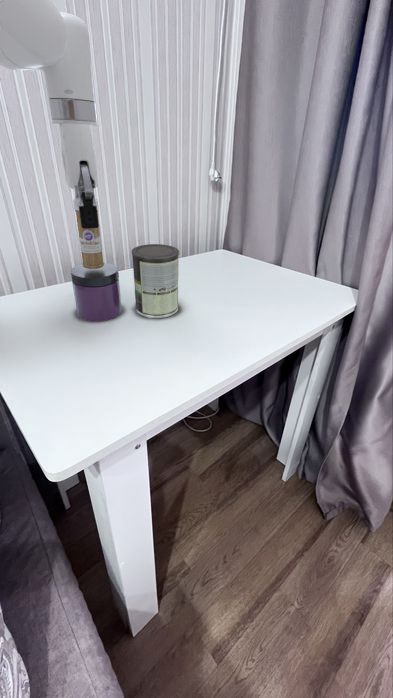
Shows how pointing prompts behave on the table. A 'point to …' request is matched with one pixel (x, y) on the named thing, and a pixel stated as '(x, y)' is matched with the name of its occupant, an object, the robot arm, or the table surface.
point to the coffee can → (156, 280)
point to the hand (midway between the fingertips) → (88, 223)
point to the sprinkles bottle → (89, 241)
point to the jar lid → (94, 275)
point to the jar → (98, 301)
